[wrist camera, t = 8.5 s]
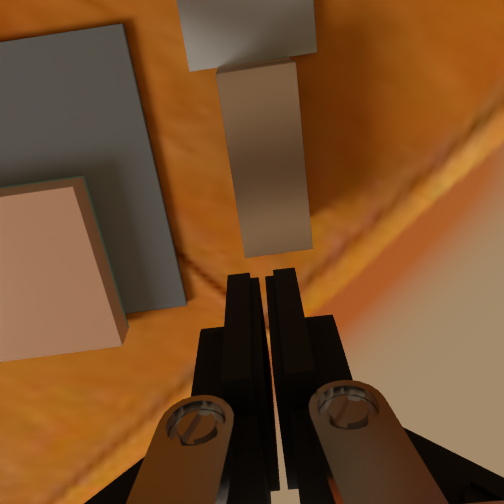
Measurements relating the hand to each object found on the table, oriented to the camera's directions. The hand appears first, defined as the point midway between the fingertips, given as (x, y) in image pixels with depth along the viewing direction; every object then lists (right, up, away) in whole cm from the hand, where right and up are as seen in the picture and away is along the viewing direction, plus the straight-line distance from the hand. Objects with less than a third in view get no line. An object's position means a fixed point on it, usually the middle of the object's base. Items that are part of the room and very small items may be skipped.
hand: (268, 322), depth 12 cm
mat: (-13, +5, +15) cm, 21 cm away
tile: (-17, 0, +16) cm, 23 cm away
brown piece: (0, +10, +13) cm, 16 cm away
